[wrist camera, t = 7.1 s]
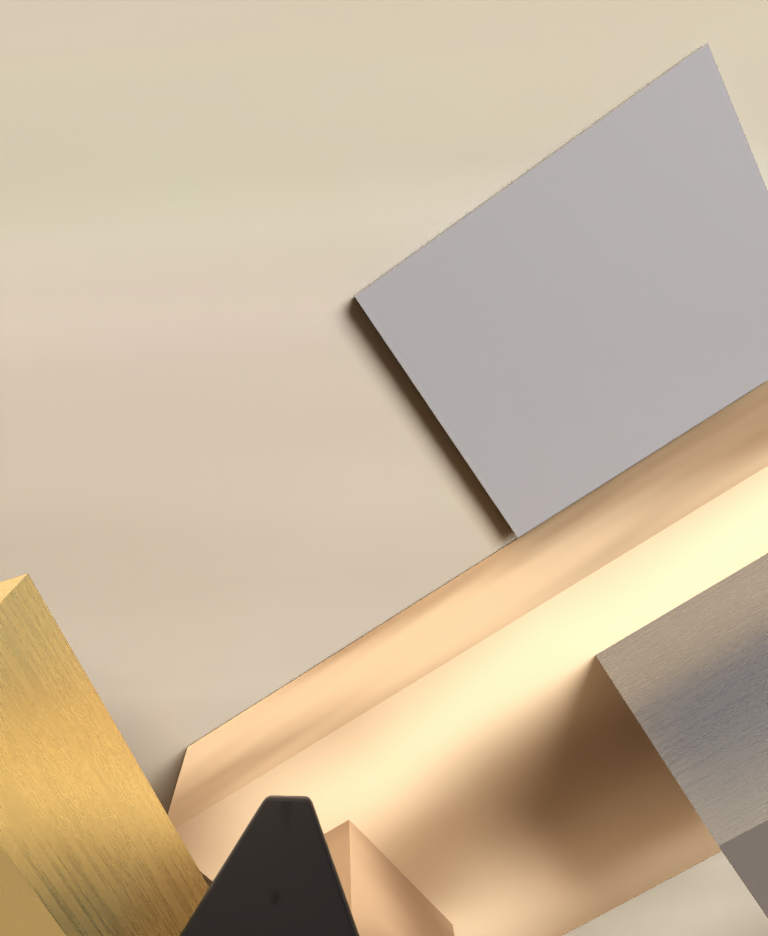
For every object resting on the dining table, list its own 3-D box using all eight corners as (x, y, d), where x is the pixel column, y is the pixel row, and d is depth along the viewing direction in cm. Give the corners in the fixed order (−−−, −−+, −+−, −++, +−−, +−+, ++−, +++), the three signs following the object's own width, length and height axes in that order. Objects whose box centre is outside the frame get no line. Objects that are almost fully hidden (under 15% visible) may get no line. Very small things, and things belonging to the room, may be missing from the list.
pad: (816, 339, 16) (828, 341, 15) (513, 531, 17) (517, 537, 16) (697, 48, 13) (707, 43, 13) (353, 295, 14) (354, 296, 14)
